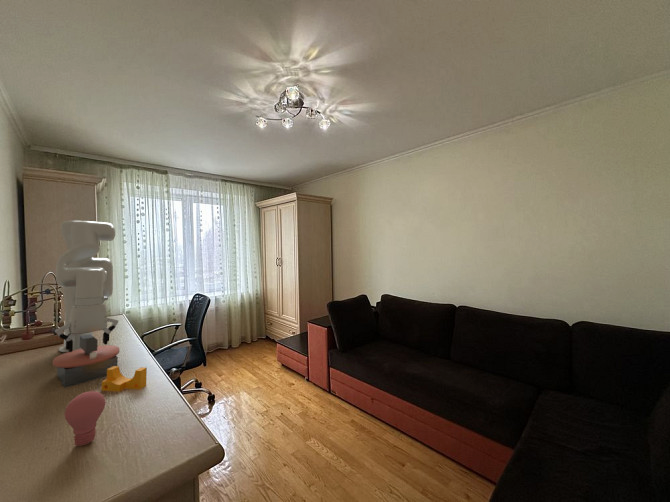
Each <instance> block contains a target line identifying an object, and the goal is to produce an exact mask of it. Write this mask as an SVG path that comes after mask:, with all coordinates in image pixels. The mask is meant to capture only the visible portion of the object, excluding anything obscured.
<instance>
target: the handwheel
mask: <svg viewBox="0 0 670 502" xmlns="http://www.w3.org/2000/svg"><path fill="white" fill-rule="evenodd" d="M98 341H99V340H98V339H97V338H96V337H95V336H93V334H92V335H91V334H89V335H84V336H80V347H81V348H82V349H78V350H74V351H72V352H63V353H62V354H60V355H58V356H55V358H53V359H52V366H53V367H55V368H57V367H59V368H71V367H80V366H86V365H90V364H95V363H98V362H102V361H105V360H108V359H110V358H112V357H114V356H118V355H119V353H120V347H119V346H117V345H109V344H106V345H105V344H104V345H98Z"/></svg>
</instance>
